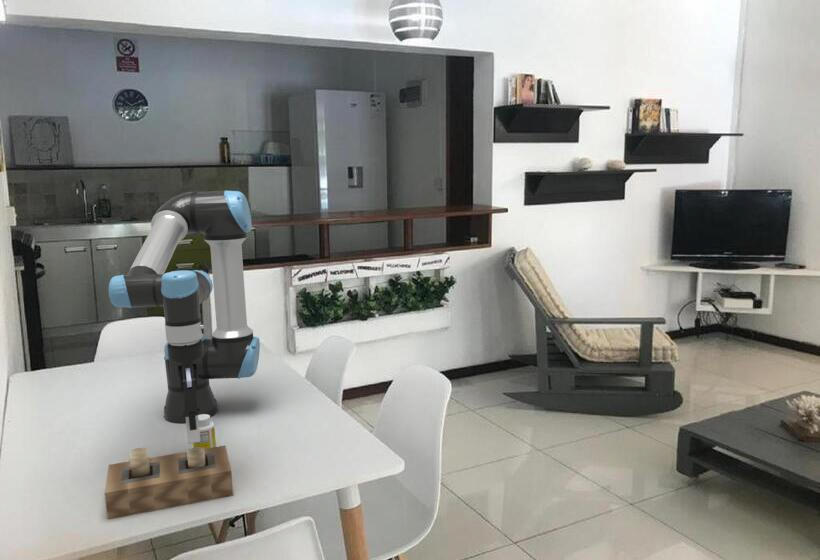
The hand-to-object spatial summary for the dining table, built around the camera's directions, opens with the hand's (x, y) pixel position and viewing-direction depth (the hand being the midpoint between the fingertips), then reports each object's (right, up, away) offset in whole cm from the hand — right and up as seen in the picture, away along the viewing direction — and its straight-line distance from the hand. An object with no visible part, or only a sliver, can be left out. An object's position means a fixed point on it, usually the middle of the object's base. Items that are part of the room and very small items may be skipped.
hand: (194, 441), depth 156 cm
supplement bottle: (-3, -8, +19) cm, 21 cm away
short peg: (0, -8, +2) cm, 9 cm away
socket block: (-5, -12, +1) cm, 13 cm away
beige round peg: (-11, -7, -2) cm, 13 cm away
